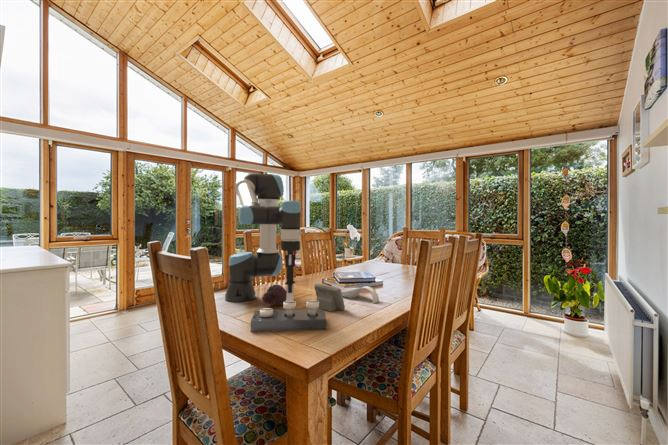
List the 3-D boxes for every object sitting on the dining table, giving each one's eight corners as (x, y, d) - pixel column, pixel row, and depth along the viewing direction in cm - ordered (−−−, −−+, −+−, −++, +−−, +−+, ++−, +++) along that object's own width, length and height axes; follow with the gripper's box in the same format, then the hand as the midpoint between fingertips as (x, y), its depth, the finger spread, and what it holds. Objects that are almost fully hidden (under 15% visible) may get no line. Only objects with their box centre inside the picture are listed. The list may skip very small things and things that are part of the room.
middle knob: (282, 318, 118) (283, 303, 118) (283, 314, 123) (283, 300, 123) (296, 318, 118) (296, 303, 118) (296, 314, 123) (296, 299, 123)
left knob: (258, 326, 117) (258, 311, 117) (260, 322, 122) (260, 307, 122) (272, 326, 117) (272, 311, 117) (273, 321, 122) (273, 307, 122)
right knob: (306, 318, 119) (306, 303, 119) (306, 313, 124) (306, 299, 124) (319, 317, 119) (319, 302, 119) (318, 313, 124) (318, 299, 124)
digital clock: (346, 310, 141) (347, 287, 140) (331, 314, 135) (331, 290, 135) (326, 302, 153) (326, 281, 153) (310, 305, 148) (311, 283, 148)
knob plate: (250, 331, 113) (250, 321, 113) (255, 320, 125) (255, 311, 125) (326, 329, 116) (326, 319, 116) (323, 319, 128) (323, 309, 128)
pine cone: (269, 312, 136) (269, 289, 136) (254, 308, 142) (254, 286, 142) (296, 303, 151) (296, 283, 151) (281, 299, 157) (281, 280, 156)
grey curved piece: (333, 296, 165) (334, 283, 165) (347, 292, 174) (347, 280, 174) (370, 305, 150) (370, 290, 150) (383, 300, 159) (383, 287, 159)
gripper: (300, 241, 114) (299, 304, 114) (300, 239, 127) (299, 296, 127) (279, 241, 113) (279, 305, 113) (281, 239, 126) (281, 296, 126)
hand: (289, 300), depth 120 cm, fingers closed
